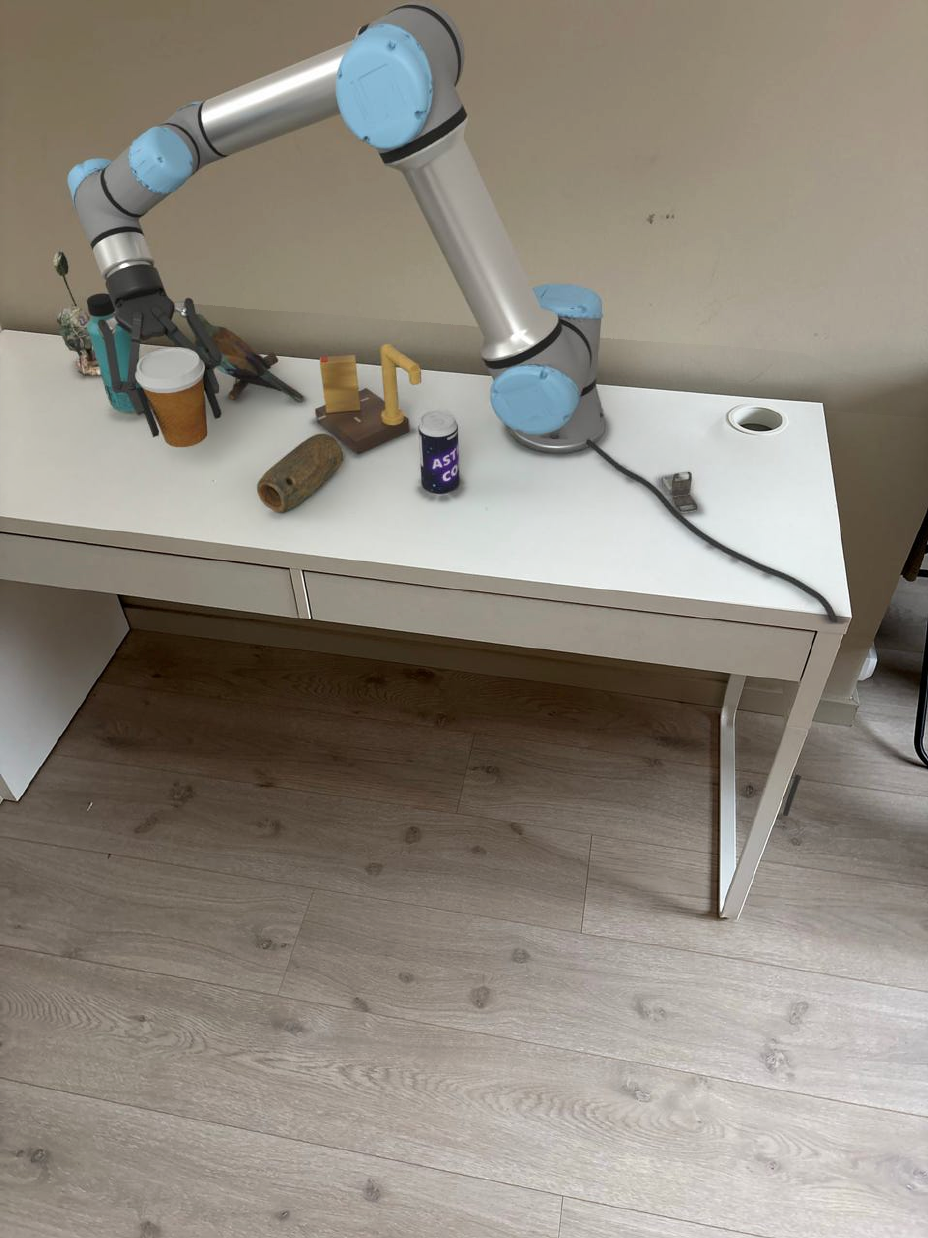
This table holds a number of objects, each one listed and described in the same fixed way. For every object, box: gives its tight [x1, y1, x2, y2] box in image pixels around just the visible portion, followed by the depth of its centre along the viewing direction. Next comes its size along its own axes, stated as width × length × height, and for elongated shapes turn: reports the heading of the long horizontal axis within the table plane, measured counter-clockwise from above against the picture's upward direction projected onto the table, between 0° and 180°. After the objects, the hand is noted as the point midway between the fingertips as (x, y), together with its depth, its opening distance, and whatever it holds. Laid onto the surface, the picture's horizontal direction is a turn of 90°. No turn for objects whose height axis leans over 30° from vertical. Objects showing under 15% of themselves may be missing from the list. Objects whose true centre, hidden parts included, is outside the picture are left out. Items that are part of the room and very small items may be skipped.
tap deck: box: [315, 387, 410, 455], centre depth 165 cm, size 14×11×3 cm
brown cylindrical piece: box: [256, 433, 345, 514], centre depth 151 cm, size 15×7×7 cm, turn 155°
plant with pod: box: [52, 250, 101, 377], centre depth 174 cm, size 8×11×20 cm
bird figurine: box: [193, 313, 305, 403], centre depth 170 cm, size 13×10×20 cm
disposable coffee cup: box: [135, 346, 209, 448], centre depth 146 cm, size 10×10×12 cm
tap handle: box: [319, 354, 361, 413], centre depth 161 cm, size 6×2×9 cm, turn 97°
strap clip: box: [661, 470, 698, 514], centre depth 149 cm, size 8×3×4 cm, turn 11°
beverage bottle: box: [86, 292, 149, 412], centre depth 163 cm, size 6×7×20 cm
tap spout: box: [379, 343, 422, 425], centre depth 156 cm, size 10×4×13 cm, turn 38°
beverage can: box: [417, 409, 460, 497], centre depth 149 cm, size 6×6×12 cm
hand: (187, 424), depth 145 cm, fingers closed on disposable coffee cup, 8 cm apart
